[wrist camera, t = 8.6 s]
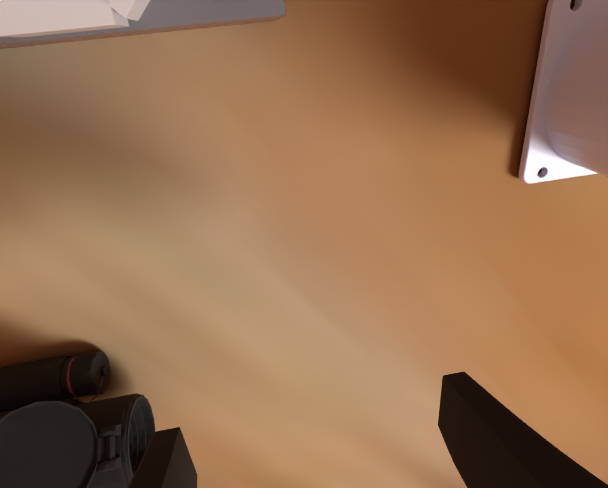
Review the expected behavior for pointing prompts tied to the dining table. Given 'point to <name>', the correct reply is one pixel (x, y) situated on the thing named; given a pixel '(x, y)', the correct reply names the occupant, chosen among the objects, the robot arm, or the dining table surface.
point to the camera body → (121, 18)
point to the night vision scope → (69, 426)
